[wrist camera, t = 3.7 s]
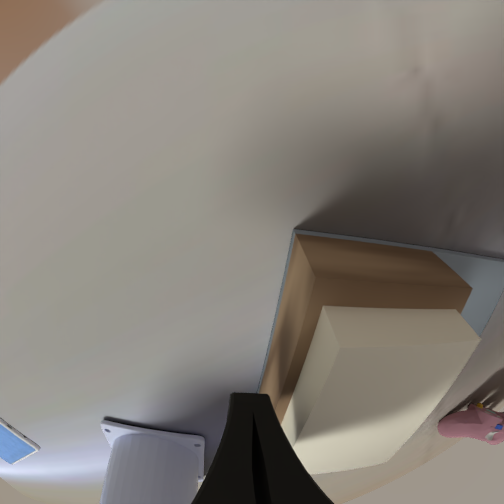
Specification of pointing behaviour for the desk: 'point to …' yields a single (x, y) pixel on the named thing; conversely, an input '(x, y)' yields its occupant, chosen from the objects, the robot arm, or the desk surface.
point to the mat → (464, 264)
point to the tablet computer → (14, 444)
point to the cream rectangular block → (372, 382)
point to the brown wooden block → (349, 296)
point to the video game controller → (474, 424)
